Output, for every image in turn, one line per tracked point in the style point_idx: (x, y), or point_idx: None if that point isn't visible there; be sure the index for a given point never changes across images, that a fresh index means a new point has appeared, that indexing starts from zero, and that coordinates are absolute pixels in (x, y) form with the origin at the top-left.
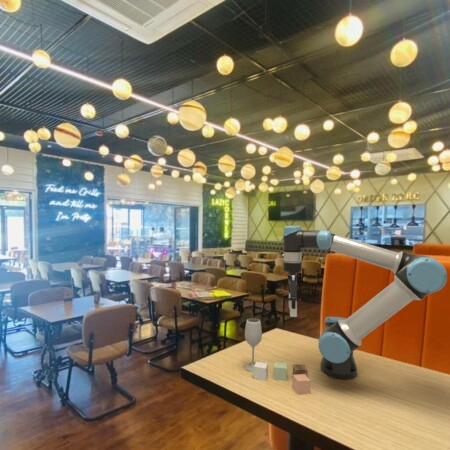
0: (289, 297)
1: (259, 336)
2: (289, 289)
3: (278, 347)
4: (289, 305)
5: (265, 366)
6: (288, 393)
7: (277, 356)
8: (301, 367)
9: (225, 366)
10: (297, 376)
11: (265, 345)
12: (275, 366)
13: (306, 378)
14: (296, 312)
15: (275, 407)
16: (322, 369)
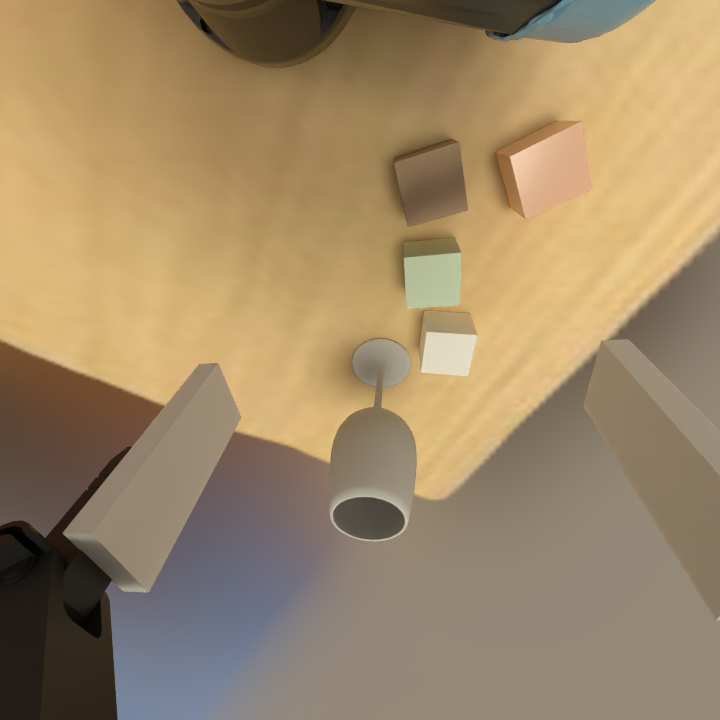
0: (177, 523)
1: (399, 432)
2: (112, 689)
3: (150, 297)
4: (226, 434)
5: (459, 337)
6: (561, 221)
7: (244, 292)
8: (434, 179)
9: None
10: (540, 195)
11: (164, 346)
12: (449, 300)
13: (560, 145)
14: (661, 378)
15: (664, 260)
16: (316, 51)
